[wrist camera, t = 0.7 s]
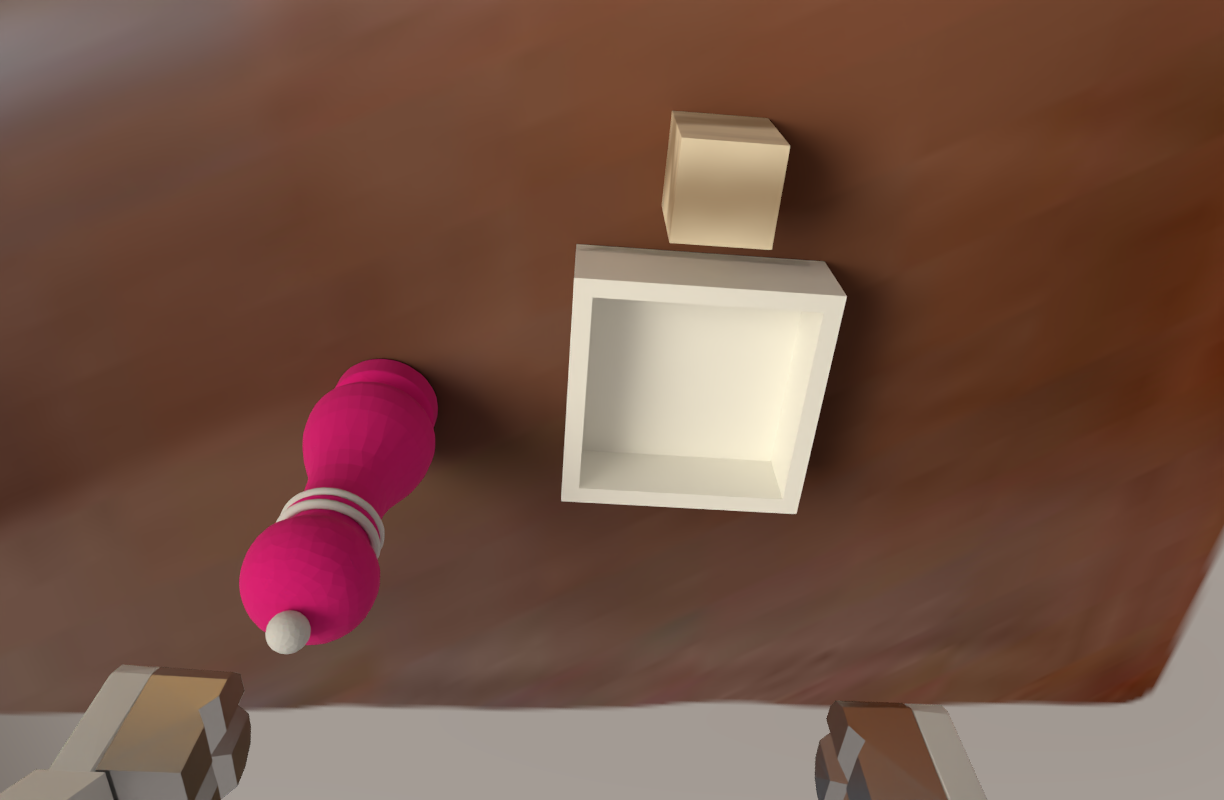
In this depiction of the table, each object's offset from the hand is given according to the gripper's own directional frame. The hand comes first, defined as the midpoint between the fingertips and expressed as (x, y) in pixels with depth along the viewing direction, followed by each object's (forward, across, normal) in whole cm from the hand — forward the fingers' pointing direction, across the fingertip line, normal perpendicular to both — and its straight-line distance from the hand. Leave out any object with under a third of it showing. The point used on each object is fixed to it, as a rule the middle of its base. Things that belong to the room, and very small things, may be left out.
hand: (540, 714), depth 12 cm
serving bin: (+37, -7, +13) cm, 40 cm away
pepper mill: (+38, +11, +17) cm, 43 cm away
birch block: (+37, -7, +1) cm, 38 cm away
